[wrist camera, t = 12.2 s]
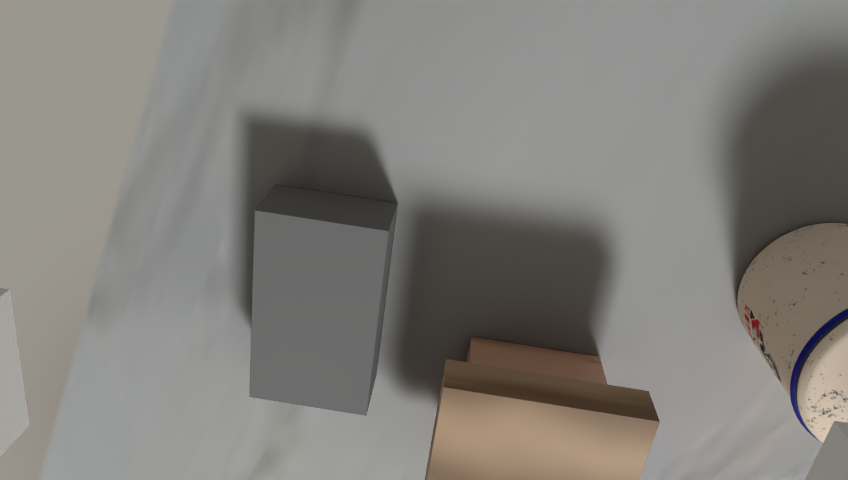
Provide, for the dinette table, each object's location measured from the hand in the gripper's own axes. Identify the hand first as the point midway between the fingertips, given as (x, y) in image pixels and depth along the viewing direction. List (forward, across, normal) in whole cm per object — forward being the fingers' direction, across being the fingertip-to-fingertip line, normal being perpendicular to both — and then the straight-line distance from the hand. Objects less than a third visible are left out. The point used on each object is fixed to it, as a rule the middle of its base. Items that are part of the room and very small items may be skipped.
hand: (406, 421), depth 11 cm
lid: (+22, +7, -19) cm, 30 cm away
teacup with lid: (+27, +23, -9) cm, 37 cm away
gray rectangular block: (+27, -6, -13) cm, 30 cm away
